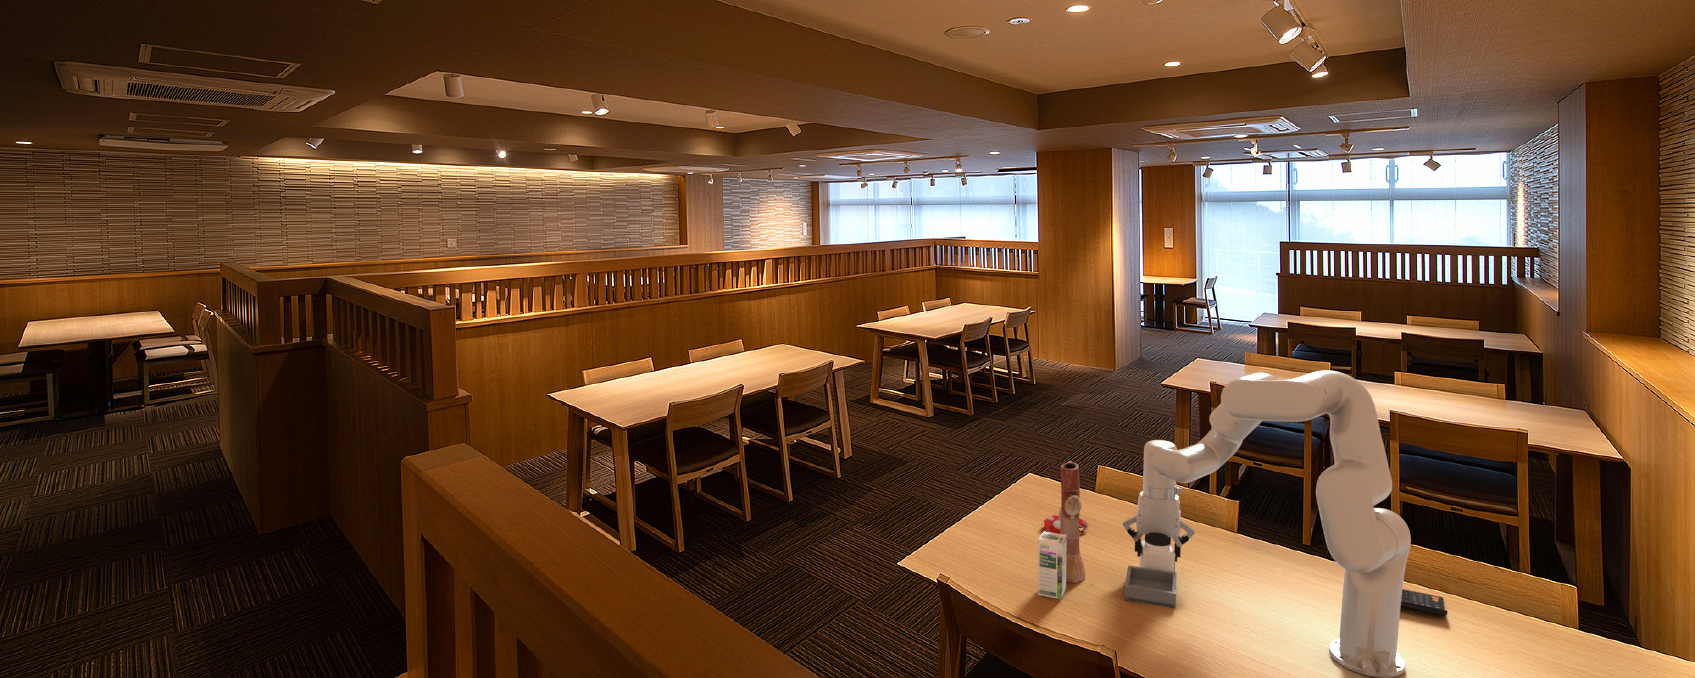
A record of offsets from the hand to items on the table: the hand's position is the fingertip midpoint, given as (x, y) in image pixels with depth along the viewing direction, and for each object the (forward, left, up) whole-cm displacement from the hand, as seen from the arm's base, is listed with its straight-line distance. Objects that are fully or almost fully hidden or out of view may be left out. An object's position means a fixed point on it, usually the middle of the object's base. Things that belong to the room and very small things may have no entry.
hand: (1157, 556), depth 192 cm
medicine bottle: (0, 0, -5) cm, 5 cm away
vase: (-9, +20, -5) cm, 22 cm away
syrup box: (-18, +23, -5) cm, 30 cm away
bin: (-10, +1, -5) cm, 11 cm away
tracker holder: (+18, +25, -5) cm, 31 cm away
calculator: (+3, -55, -5) cm, 55 cm away
